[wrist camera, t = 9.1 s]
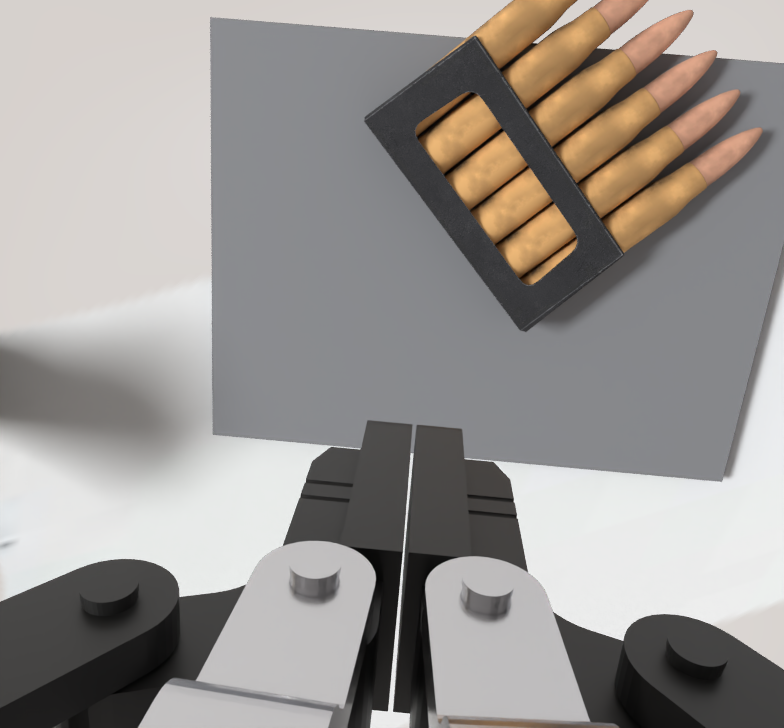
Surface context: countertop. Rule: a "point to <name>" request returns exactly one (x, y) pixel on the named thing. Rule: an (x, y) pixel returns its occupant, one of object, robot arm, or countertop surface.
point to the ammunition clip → (543, 163)
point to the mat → (468, 273)
